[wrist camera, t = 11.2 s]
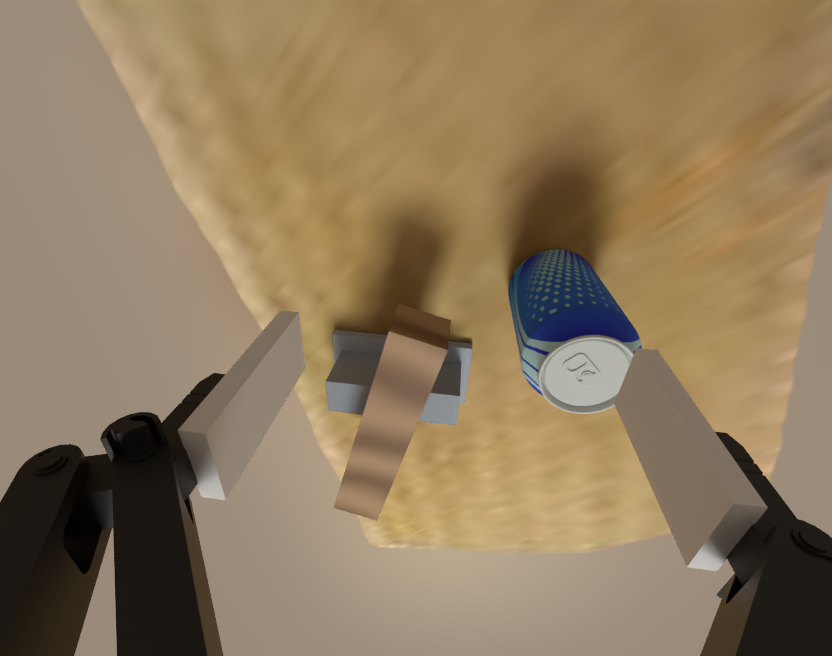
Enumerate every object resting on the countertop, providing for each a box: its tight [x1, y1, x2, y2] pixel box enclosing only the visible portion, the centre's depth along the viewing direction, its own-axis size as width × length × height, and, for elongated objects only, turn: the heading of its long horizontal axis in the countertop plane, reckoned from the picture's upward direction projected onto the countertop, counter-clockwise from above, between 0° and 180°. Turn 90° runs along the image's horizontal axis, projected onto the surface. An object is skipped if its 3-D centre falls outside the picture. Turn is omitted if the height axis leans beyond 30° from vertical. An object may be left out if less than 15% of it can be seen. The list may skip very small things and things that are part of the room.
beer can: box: [509, 249, 642, 414], centre depth 35 cm, size 8×8×16 cm
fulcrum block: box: [326, 330, 472, 425], centre depth 46 cm, size 8×16×7 cm, turn 87°
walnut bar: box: [334, 304, 451, 520], centre depth 41 cm, size 24×5×5 cm, turn 163°
